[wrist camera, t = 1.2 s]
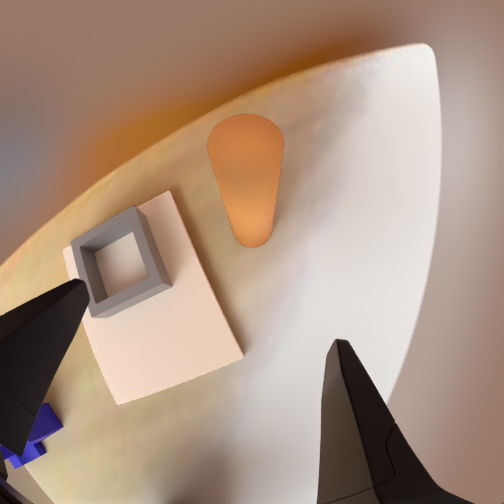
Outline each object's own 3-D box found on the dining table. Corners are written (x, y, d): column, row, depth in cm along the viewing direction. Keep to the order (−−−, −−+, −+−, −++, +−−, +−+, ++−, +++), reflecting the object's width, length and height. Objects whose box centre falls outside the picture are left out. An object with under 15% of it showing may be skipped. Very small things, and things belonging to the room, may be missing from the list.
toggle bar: (278, 237, 23) (297, 157, 11) (243, 253, 23) (225, 187, 11) (261, 204, 24) (262, 105, 12) (226, 220, 24) (196, 130, 12)
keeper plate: (244, 355, 21) (241, 363, 18) (122, 402, 21) (103, 413, 17) (172, 194, 24) (160, 177, 21) (68, 252, 24) (47, 243, 20)
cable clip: (28, 462, 18) (0, 475, 13) (9, 432, 19) (-20, 442, 13) (72, 438, 20) (39, 456, 14) (49, 402, 21) (12, 413, 15)
